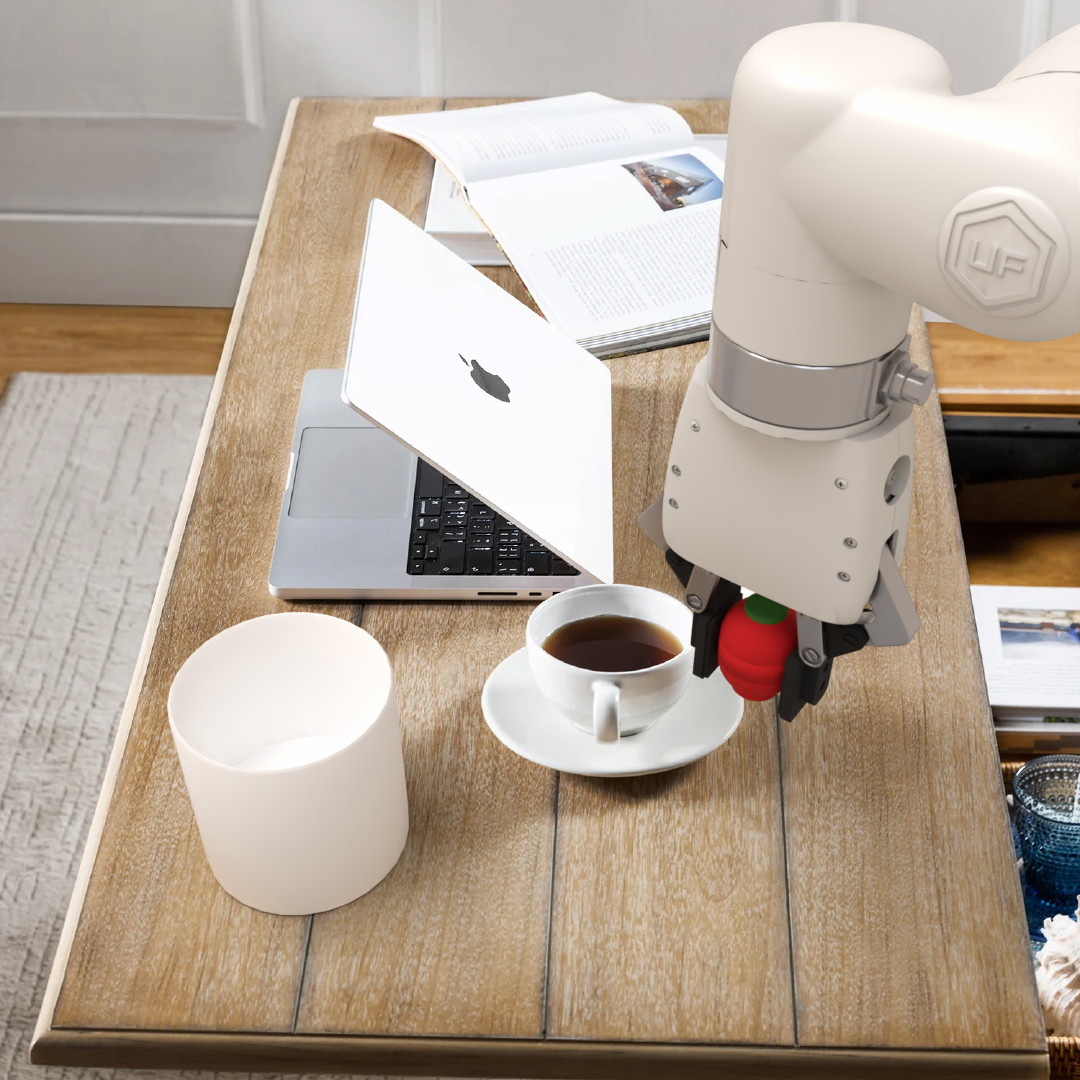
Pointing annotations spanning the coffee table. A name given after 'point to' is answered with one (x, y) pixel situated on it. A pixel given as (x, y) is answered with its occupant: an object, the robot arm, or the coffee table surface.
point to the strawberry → (756, 646)
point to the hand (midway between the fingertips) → (755, 679)
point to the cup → (293, 760)
